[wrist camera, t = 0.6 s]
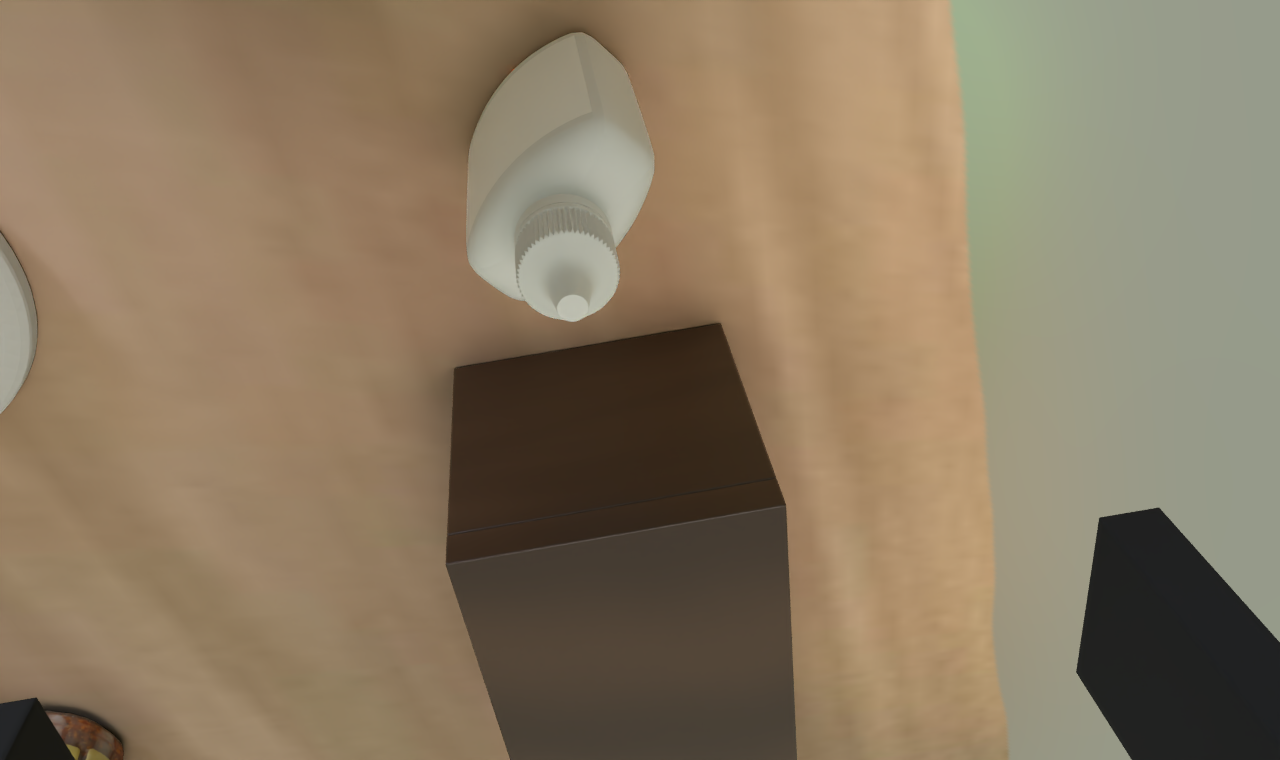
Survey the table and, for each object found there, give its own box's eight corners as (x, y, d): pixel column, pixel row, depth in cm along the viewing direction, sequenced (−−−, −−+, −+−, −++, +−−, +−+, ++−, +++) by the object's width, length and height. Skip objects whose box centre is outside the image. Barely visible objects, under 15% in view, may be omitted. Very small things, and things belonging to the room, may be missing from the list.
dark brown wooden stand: (453, 367, 37) (445, 564, 29) (721, 322, 37) (786, 504, 29) (539, 675, 48) (550, 882, 40) (747, 638, 48) (800, 836, 40)
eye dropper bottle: (435, 76, 31) (412, 266, 21) (608, 15, 30) (666, 180, 21) (489, 200, 33) (490, 419, 24) (650, 144, 33) (718, 345, 23)
